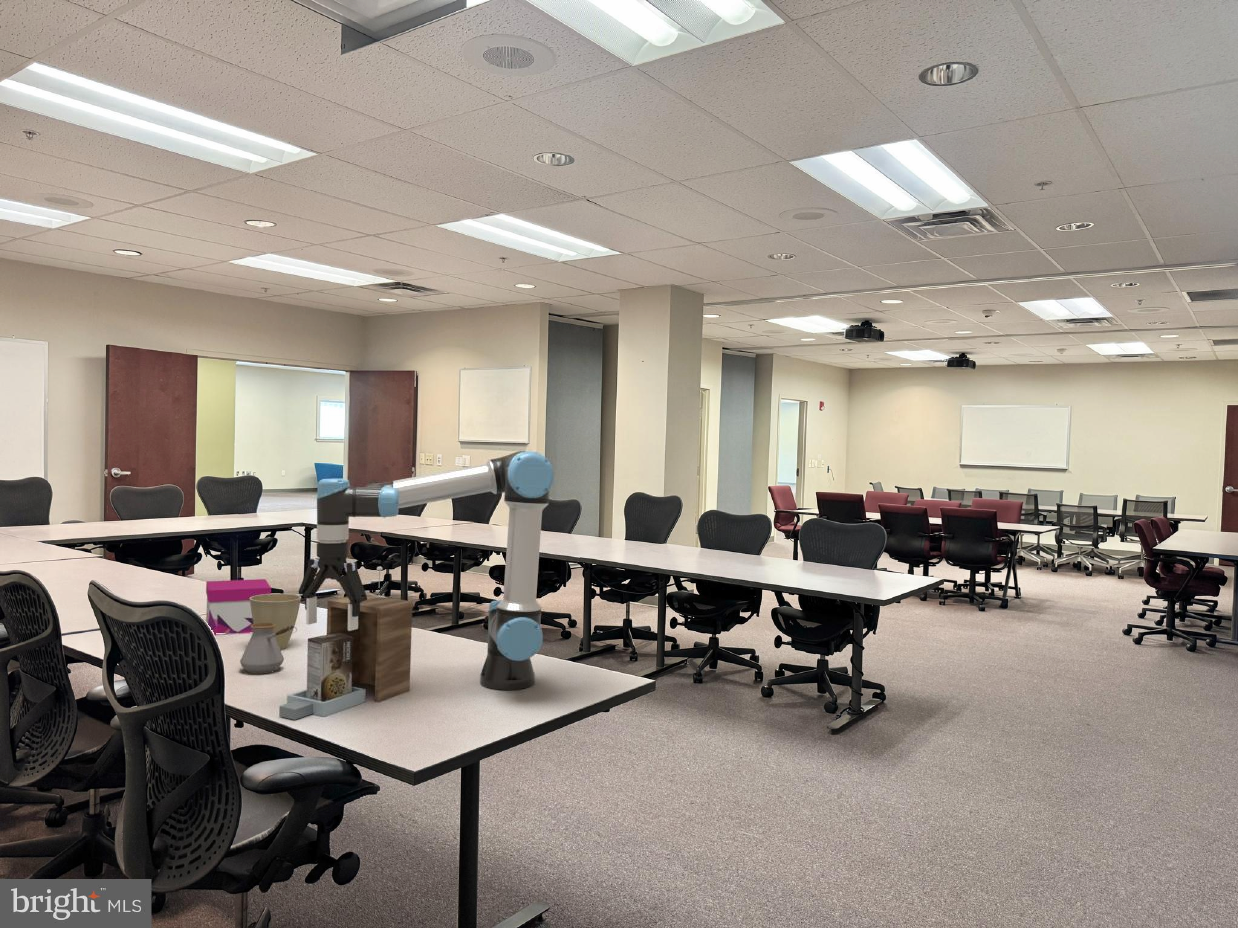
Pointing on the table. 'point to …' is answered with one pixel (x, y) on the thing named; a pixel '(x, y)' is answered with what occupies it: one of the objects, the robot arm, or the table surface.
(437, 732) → the table surface
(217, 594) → the decorative box
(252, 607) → the plant pot
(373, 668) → the wooden cubby shelf
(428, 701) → the table surface
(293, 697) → the tray
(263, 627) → the coffee pot
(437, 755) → the table surface
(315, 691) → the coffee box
